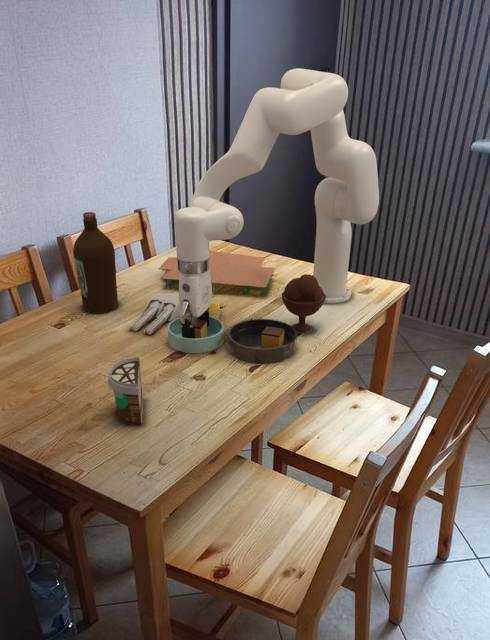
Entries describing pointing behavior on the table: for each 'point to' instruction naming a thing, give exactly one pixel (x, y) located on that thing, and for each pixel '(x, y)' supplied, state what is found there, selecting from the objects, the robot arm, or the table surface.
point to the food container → (127, 390)
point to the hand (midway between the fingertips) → (196, 332)
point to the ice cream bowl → (303, 299)
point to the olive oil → (95, 267)
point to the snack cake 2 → (272, 337)
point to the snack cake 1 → (200, 328)
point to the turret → (158, 311)
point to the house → (228, 271)
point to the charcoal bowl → (260, 341)
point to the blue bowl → (200, 344)
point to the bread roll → (213, 311)
